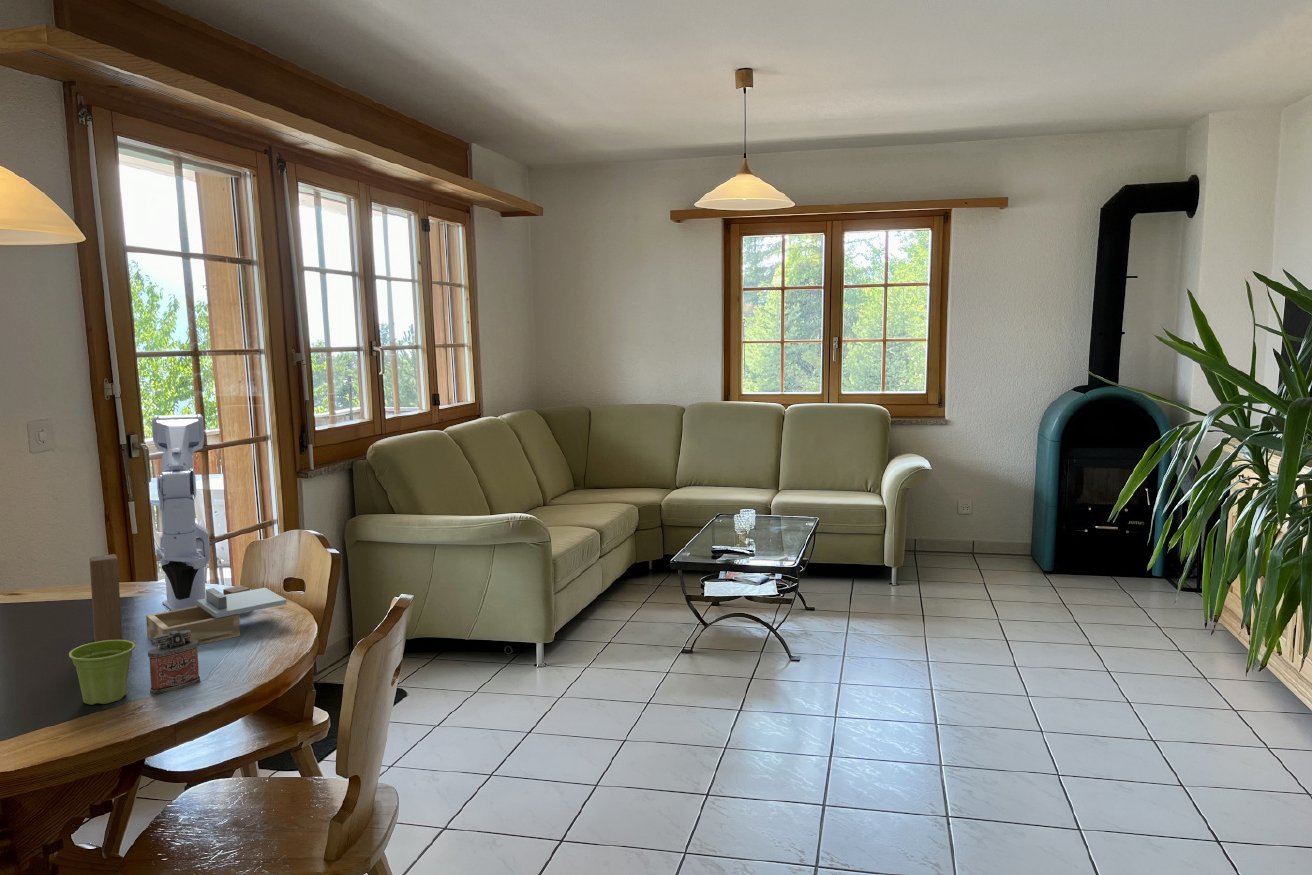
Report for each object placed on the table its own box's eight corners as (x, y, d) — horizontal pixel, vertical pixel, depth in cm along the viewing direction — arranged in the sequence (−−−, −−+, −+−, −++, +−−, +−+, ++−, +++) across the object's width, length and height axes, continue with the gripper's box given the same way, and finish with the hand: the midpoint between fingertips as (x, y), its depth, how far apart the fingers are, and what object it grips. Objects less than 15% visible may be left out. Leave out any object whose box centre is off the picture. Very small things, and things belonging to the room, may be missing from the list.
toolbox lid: (197, 604, 184) (196, 588, 183) (265, 591, 193) (264, 576, 193) (216, 618, 175) (215, 601, 175) (286, 604, 185) (285, 587, 184)
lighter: (195, 678, 156) (192, 624, 155) (203, 683, 154) (201, 628, 153) (146, 691, 150) (143, 635, 149) (154, 697, 148) (151, 640, 147)
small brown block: (224, 610, 195) (223, 589, 194) (241, 606, 198) (240, 585, 197) (233, 614, 192) (232, 592, 192) (250, 610, 196) (249, 588, 195)
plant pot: (119, 683, 154) (116, 635, 153) (149, 694, 149) (146, 645, 148) (61, 701, 146) (57, 651, 145) (90, 714, 141) (87, 663, 140)
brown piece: (147, 636, 178) (146, 615, 177) (220, 621, 187) (219, 601, 187) (164, 652, 169) (163, 629, 169) (240, 635, 179) (239, 614, 178)
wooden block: (94, 638, 176) (88, 551, 174) (120, 634, 179) (115, 548, 177) (95, 652, 169) (89, 561, 167) (122, 647, 171) (117, 558, 169)
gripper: (219, 532, 171) (222, 599, 173) (179, 523, 179) (183, 587, 181) (183, 539, 165) (187, 608, 167) (144, 529, 173) (147, 595, 175)
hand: (182, 598), depth 173 cm, fingers closed
